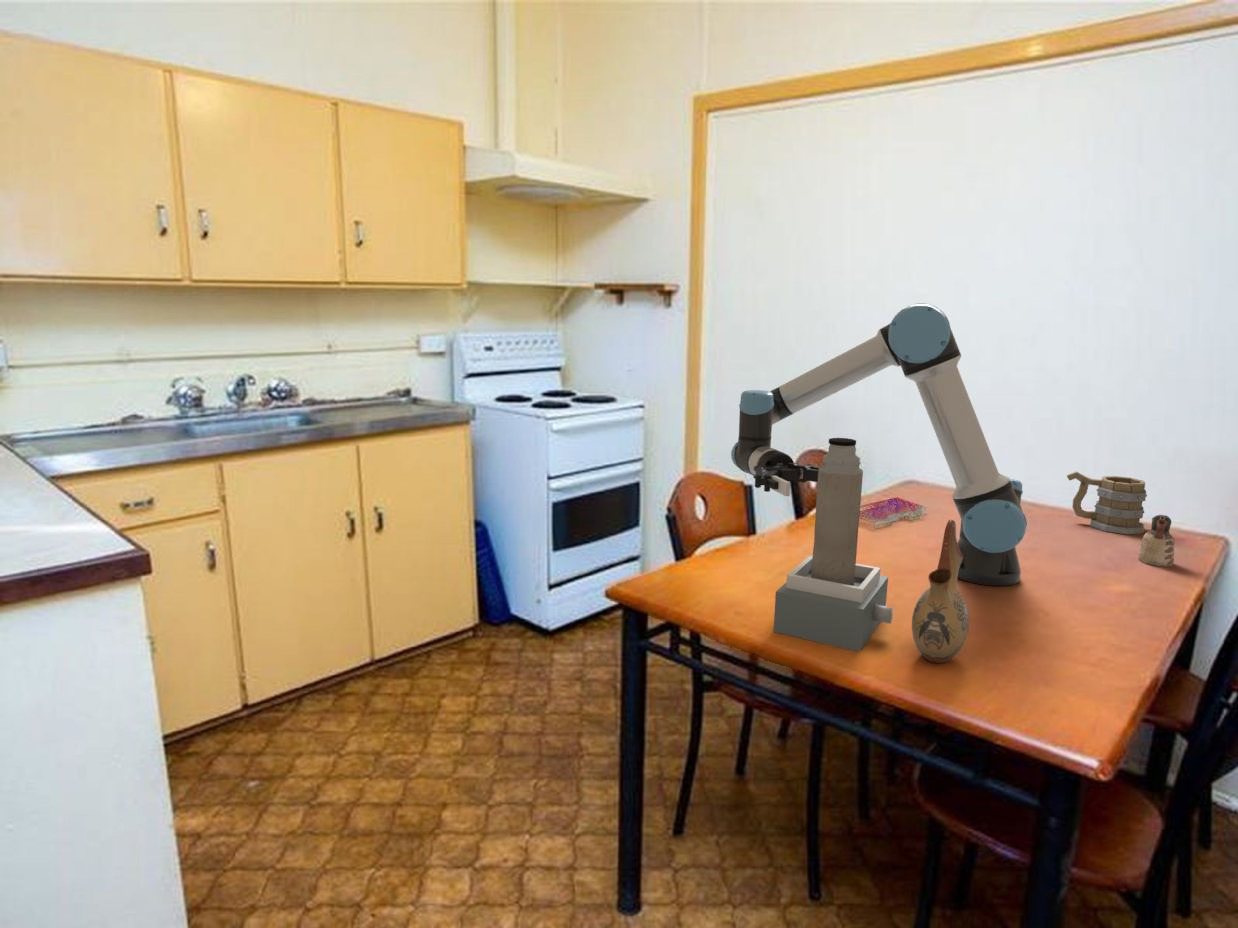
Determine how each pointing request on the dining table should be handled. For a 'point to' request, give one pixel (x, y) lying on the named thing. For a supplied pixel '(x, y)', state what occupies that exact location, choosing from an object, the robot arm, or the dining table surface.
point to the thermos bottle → (837, 513)
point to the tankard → (1113, 503)
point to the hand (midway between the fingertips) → (819, 488)
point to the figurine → (1158, 543)
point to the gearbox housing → (832, 607)
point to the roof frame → (889, 515)
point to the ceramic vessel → (942, 606)
